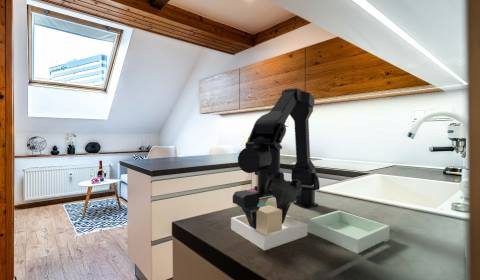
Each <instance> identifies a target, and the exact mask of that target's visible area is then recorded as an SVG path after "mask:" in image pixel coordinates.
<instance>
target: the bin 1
mask: <svg viewBox="0 0 480 280" xmlns="http://www.w3.org/2000/svg"><path fill="white" fill-rule="evenodd" d="M230 229H231V230H232V231H234V232H235V233H236V234H238V235H239V236H241V237H243V238H244V239H246V240H247V241H249V242H251V243H252V244H253V245H255V246H257V247H258V248H260V249H261V250H263V251H267V250H271V249H273V248H276V247H279V246H282V245H284V244H287V243H290V242H293V241H296V240H298V239H299V240H300V239H301V238H304V237H307V236H308V233H309V232H308V224H307V222H304V221H303V220H300V219H297V218H294V217H293V216H291V215H287V214H286V217H285V220H284V222H283V224H282V230H279V231H276V232H272V233H269V234H266V235H265V234H263V233H261V232H259V231H257V230H256V229H254V228H252V227H250V224H249V222H248V220H247V217H246V215H245V214H242V215H238V216H232V217H230Z"/></svg>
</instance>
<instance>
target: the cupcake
mask: <svg viewBox="0 0 480 280" xmlns="http://www.w3.org/2000/svg"><path fill="white" fill-rule="evenodd" d="M248 191H251V192H254V193H257V192H258V191H256V190H254V187H253V188H250V189H248ZM269 199H270V198H267V199H262V200H259V204H258V205H257V206H258V207H263V206H266V204H267V202H268V200H269Z"/></svg>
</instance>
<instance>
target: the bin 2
mask: <svg viewBox="0 0 480 280" xmlns="http://www.w3.org/2000/svg"><path fill="white" fill-rule="evenodd" d="M306 223H307V224H308V232H307V233H309V234H311V235H314V236H317V237H320V239H324V240H326V241H327V242H330V243H332V244H335V245H337V246H339V247H341V248H344V249H347V250H348V251H351V252H353V253H355V254H360V253H363V252H364V251H365V250H368V249H370V248H372V247H374V246H376V245H378V244H380V243H382V242H386V243H387V242H388V241H390V228H391V227H390V225H389V224H385V223H382V222H378V221H375V220H373V219H369V218H365V217H361V216H358V215H355V214H352V213H349V212H347V211H343V210H336V211H332V212H328V213H325V214H322V215H318V216H315V217H311V218H308V219H306Z"/></svg>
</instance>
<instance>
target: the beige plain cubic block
mask: <svg viewBox="0 0 480 280" xmlns="http://www.w3.org/2000/svg"><path fill="white" fill-rule="evenodd" d="M256 230H257V231H259V232H261V233H263V234H265V235H266V234H269V233H272V232H276V231H279V230H282V210H280V209H278V208H277V207H276V206H274V205H273V206H272V205H270V204H268V205H265V206H263V207H260V208H259V210H258V211H257V221H256Z"/></svg>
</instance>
